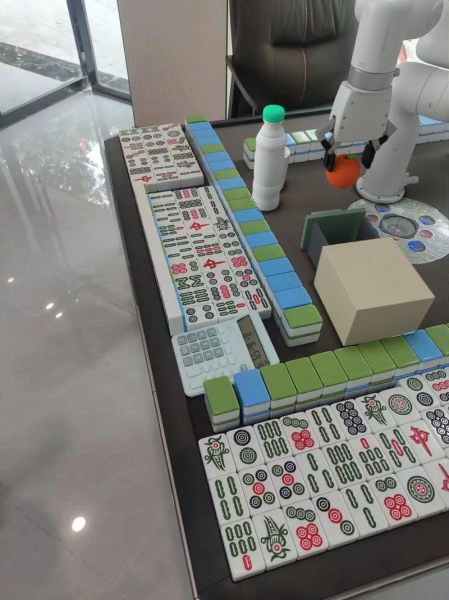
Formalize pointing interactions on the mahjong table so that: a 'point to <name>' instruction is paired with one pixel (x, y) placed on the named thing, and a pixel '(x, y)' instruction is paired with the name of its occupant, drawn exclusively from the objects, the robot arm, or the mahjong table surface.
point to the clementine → (344, 171)
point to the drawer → (335, 230)
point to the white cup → (285, 166)
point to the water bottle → (269, 159)
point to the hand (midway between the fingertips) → (346, 166)
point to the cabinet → (371, 290)
